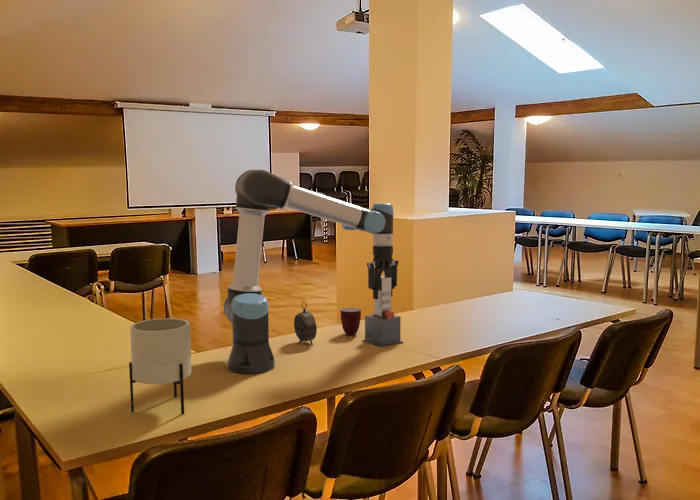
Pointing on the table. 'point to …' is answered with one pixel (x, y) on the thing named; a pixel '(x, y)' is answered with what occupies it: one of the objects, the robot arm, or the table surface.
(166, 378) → the planter
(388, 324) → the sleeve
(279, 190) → the robot arm
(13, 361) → the table surface
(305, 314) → the alarm clock
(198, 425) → the table surface
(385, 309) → the column
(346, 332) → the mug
